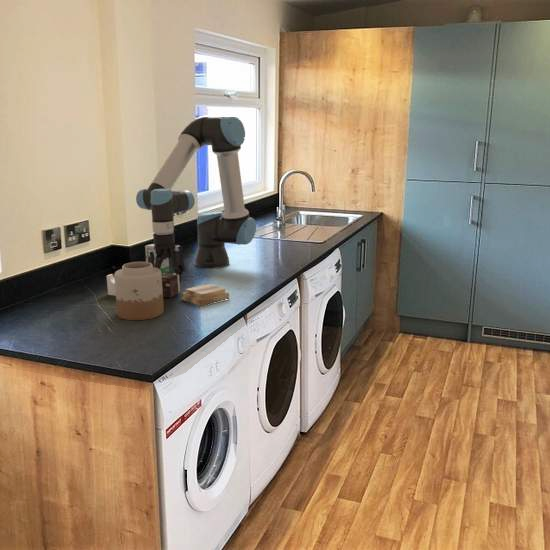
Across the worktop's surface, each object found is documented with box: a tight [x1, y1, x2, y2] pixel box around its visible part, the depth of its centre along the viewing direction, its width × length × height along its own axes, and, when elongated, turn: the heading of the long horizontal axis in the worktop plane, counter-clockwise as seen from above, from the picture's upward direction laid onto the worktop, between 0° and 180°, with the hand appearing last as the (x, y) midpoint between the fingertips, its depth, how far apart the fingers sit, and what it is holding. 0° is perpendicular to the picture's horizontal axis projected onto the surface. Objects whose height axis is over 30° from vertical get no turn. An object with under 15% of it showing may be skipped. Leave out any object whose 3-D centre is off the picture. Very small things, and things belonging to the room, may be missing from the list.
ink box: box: [144, 243, 170, 273], centre depth 256 cm, size 9×5×12 cm, turn 65°
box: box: [162, 272, 179, 298], centre depth 223 cm, size 6×6×7 cm
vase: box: [113, 261, 165, 321], centre depth 202 cm, size 15×15×17 cm
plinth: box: [181, 283, 230, 307], centre depth 218 cm, size 12×12×4 cm
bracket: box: [106, 273, 116, 297], centre depth 230 cm, size 13×7×8 cm, turn 157°
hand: (167, 293), depth 224 cm, fingers closed on box, 8 cm apart
